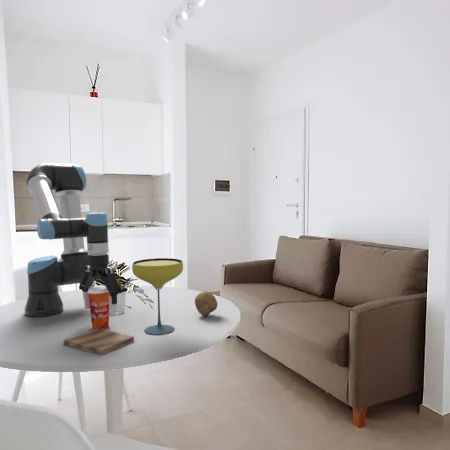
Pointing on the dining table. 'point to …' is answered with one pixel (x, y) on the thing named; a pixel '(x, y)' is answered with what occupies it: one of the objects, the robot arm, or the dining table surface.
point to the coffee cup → (99, 306)
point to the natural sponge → (205, 303)
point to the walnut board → (99, 341)
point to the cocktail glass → (158, 282)
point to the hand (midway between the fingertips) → (100, 310)
